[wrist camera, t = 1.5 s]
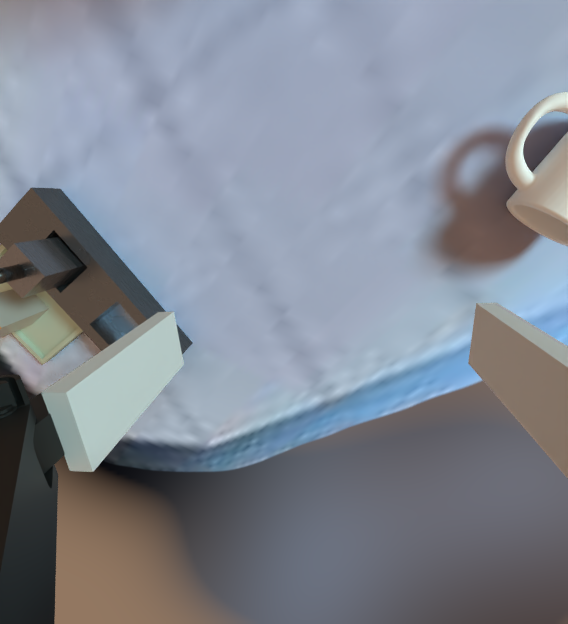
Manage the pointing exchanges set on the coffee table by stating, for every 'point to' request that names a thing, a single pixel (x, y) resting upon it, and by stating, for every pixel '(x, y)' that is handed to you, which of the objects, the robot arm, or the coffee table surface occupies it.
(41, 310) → the plug
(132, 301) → the panel
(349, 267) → the coffee table surface
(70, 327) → the tray
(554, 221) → the mug
